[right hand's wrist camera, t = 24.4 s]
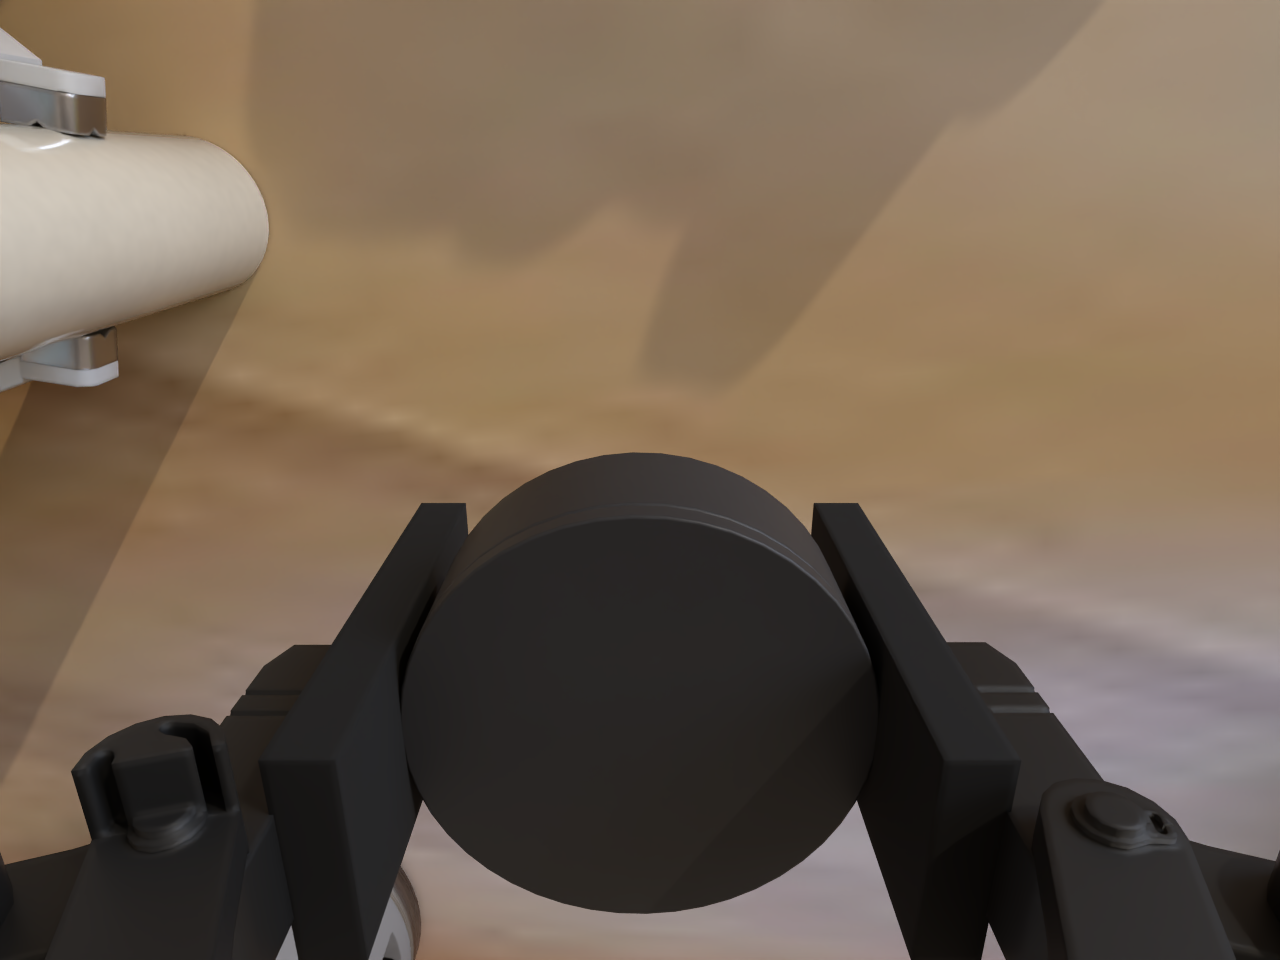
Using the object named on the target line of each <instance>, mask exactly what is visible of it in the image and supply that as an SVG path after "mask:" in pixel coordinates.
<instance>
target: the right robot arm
mask: <svg viewBox="0 0 1280 960" xmlns="http://www.w3.org/2000/svg"><path fill="white" fill-rule="evenodd" d="M467 536H468V526H467V513H466V503H421V505H420V506H419V508H418V510H417V511H416V513H415V514H414V516H413V517H412V519H411V521H410V522H409V524H408V525H407V527H406V528H405V530H404V532H403V533H402V535H401V536H400V538H399V539H398V541H397V543H396V544H395V546H394V547H393V549H392V550H391V552H390V554H389V555H388V557H387V558H386V560H385V561H384V563H383V565H382V566H381V568H380V569H379V571H378V572H377V574H376V576H375V577H374V579H373V580H372V582H371V583H370V585H369V587H368V588H367V590H366V591H365V593H364V594H363V596H362V598H361V599H360V601H359V602H358V604H357V605H356V607H355V609H354V610H353V612H352V613H351V615H350V616H349V618H348V620H347V621H346V623H345V624H344V626H343V628H342V629H341V631H340V632H339V634H338V635H337V637H336V639H335V640H334V642H333V643H332V645H294V646H292V647H291V648H289V649H288V650H286V651H285V652H283V653H282V654H281V655H279V656H278V657H276V658H275V659H273V660H272V661H270V662H269V663H268V664H266V665H265V666H264V667H263V668H262V669H261V671H260V672H259V673H258V675H257V676H256V677H255V679H254V680H253V681H252V683H251V684H250V685H249V687H248V688H247V690H246V695H242V696H241V698H240V699H239V700H238V702H237V703H236V704H235V706H234V707H233V708H232V710H231V715H230V716H226V718H225V719H224V720H223V722H222V723H221V725H220V726H219V725H218V724H217V723H216V722H215V721H213V720H212V719H210V718H205V717H200V716H196V715H191V714H190V715H174V716H163V717H159V718H155V719H152V720H148V721H144V722H140V723H137V724H134V725H132V726H130V727H128V728H125V729H123V730H121V731H119V732H117V733H115V734H112V735H110V736H108V737H107V738H105V739H104V740H103V741H101V742H100V743H98V744H97V745H96V746H94V747H93V748H91V749H90V750H89V751H87V752H86V753H85V754H84V755H83V757H82V758H81V759H80V760H79V762H78V763H77V764H76V766H75V767H74V768H73V769H72V771H71V773H72V776H73V779H74V783H75V786H76V789H77V793H78V796H79V799H80V802H81V806H82V809H83V812H84V816H85V819H86V822H87V825H88V829H89V832H90V835H91V839H92V841H91V844H89V845H85V846H82V847H79V848H75V849H72V850H68V851H63V852H59V853H54V854H50V855H46V856H41V857H37V858H33V859H28V860H24V861H20V862H15V863H11V864H6V865H5V864H4V862H3V859H2V856H1V853H0V960H415V957H416V954H417V950H418V946H419V941H420V935H421V918H420V910H419V906H418V901H417V898H416V895H415V892H414V890H413V887H412V885H411V883H410V881H409V879H408V877H407V876H406V874H405V872H404V871H403V869H402V868H401V866H400V865H401V862H402V859H403V857H404V854H405V851H406V848H407V845H408V842H409V839H410V836H411V833H412V830H413V827H414V824H415V821H416V818H417V815H418V812H419V809H420V806H421V803H422V800H423V799H422V797H421V796H420V794H419V792H418V790H417V788H416V785H415V783H414V781H413V778H412V776H411V773H410V771H409V768H408V765H407V760H406V753H405V746H404V739H403V730H402V722H401V713H400V697H401V687H402V683H403V678H404V674H405V670H406V666H407V662H408V659H409V657H410V654H411V652H412V650H413V647H414V645H415V642H416V640H417V637H418V635H419V633H420V631H421V629H422V627H423V625H424V623H425V620H426V618H427V616H428V614H429V612H430V609H431V607H432V605H433V603H434V601H435V599H436V597H437V594H438V592H439V590H440V588H441V586H442V584H443V582H444V579H445V577H446V575H447V573H448V571H449V569H450V567H451V564H452V562H453V560H454V558H455V556H456V554H457V553H458V551H459V550H460V548H461V546H462V545H463V543H464V541H465V540H466V538H467ZM811 536H812V538H813V539H814V540H815V542H816V543H817V545H818V546H819V548H820V550H821V552H822V554H823V556H824V558H825V560H826V562H827V564H828V566H829V568H830V570H831V572H832V574H833V576H834V578H835V581H836V583H837V585H838V587H839V589H840V591H841V593H842V596H843V598H844V600H845V602H846V604H847V606H848V608H849V611H850V613H851V615H852V617H853V619H854V621H855V623H856V626H857V628H858V630H859V632H860V634H861V636H862V638H863V641H864V643H865V645H866V647H867V649H868V652H869V656H870V659H871V662H872V665H873V668H874V671H875V674H876V680H877V686H878V693H879V699H880V706H879V716H878V726H877V734H876V742H875V750H874V757H873V763H872V766H871V769H870V772H869V775H868V778H867V780H866V782H865V784H864V786H863V788H862V790H861V792H860V794H859V796H858V798H857V802H858V805H859V808H860V811H861V814H862V817H863V820H864V823H865V826H866V828H867V831H868V834H869V837H870V840H871V843H872V846H873V849H874V852H875V855H876V858H877V861H878V864H879V867H880V870H881V873H882V876H883V879H884V882H885V885H886V887H887V890H888V893H889V896H890V899H891V902H892V905H893V908H894V911H895V914H896V917H897V920H898V923H899V926H900V929H901V932H902V935H903V938H904V941H905V944H906V946H907V949H908V952H909V955H910V958H911V960H981V958H982V953H983V948H984V943H985V938H986V933H987V928H988V923H989V924H990V926H991V928H992V931H993V933H994V935H995V937H996V939H997V941H998V944H999V946H1000V948H1001V950H1002V952H1003V955H1004V957H1005V959H1006V960H1280V851H1279V854H1278V857H1277V860H1276V861H1272V860H1267V859H1263V858H1258V857H1254V856H1250V855H1245V854H1241V853H1236V852H1232V851H1228V850H1223V849H1219V848H1214V847H1210V846H1206V845H1203V844H1199V843H1196V842H1193V841H1189V839H1188V838H1187V836H1186V835H1185V833H1184V832H1183V830H1182V829H1181V827H1180V826H1179V824H1178V823H1177V821H1176V820H1175V819H1174V818H1173V817H1172V816H1170V815H1169V814H1168V813H1167V812H1166V811H1164V810H1163V809H1162V808H1161V807H1160V806H1158V805H1157V804H1156V803H1155V802H1153V801H1151V800H1150V799H1148V798H1146V797H1144V796H1142V795H1140V794H1138V793H1136V792H1134V791H1132V790H1130V789H1128V788H1126V787H1122V786H1119V785H1116V784H1112V783H1109V782H1106V781H1104V780H1103V779H1102V778H1101V776H1100V775H1099V774H1098V772H1097V771H1096V770H1095V768H1094V767H1093V766H1092V764H1091V763H1090V762H1089V760H1088V759H1087V758H1086V756H1085V755H1084V754H1083V752H1082V751H1081V750H1080V748H1079V747H1078V746H1077V744H1076V743H1075V742H1074V740H1073V739H1072V738H1071V736H1070V735H1069V734H1068V732H1067V731H1066V730H1065V728H1064V727H1063V726H1062V724H1061V723H1060V722H1059V720H1058V719H1057V718H1056V716H1055V715H1054V713H1050V712H1049V707H1048V705H1047V704H1046V703H1045V701H1044V700H1043V699H1042V697H1041V696H1040V695H1039V693H1038V692H1034V687H1033V685H1032V684H1031V683H1030V681H1029V680H1028V679H1027V677H1026V676H1025V675H1024V673H1023V672H1022V671H1021V669H1020V668H1019V667H1018V665H1017V664H1016V663H1015V662H1013V661H1012V660H1010V659H1009V658H1008V657H1006V656H1005V655H1003V654H1002V653H1000V652H999V651H997V650H996V649H994V648H993V647H992V646H990V645H989V644H987V643H986V642H946V641H945V639H944V638H943V636H942V635H941V633H940V631H939V630H938V628H937V627H936V625H935V624H934V622H933V620H932V619H931V617H930V616H929V614H928V613H927V611H926V609H925V608H924V606H923V605H922V603H921V602H920V600H919V598H918V597H917V595H916V594H915V592H914V591H913V589H912V587H911V586H910V584H909V583H908V581H907V580H906V578H905V576H904V575H903V573H902V572H901V570H900V569H899V567H898V565H897V564H896V562H895V561H894V559H893V558H892V556H891V554H890V553H889V551H888V550H887V548H886V547H885V545H884V543H883V542H882V540H881V539H880V537H879V536H878V534H877V532H876V531H875V529H874V528H873V526H872V525H871V523H870V521H869V520H868V518H867V517H866V515H865V514H864V512H863V510H862V509H861V507H860V506H859V504H858V503H814V507H813V520H812V532H811Z"/></svg>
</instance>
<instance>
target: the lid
mask: <svg viewBox="0 0 1280 960" xmlns="http://www.w3.org/2000/svg"><path fill="white" fill-rule="evenodd" d="M879 706H880V699H879V693H878V686H877V680H876V674H875V671H874V668H873V665H872V662H871V659H870V656H869V652H868V649H867V647H866V645H865V643H864V641H863V638H862V636H861V634H860V632H859V630H858V628H857V626H856V623H855V621H854V619H853V617H852V615H851V613H850V611H849V608H848V606H847V604H846V602H845V600H844V598H843V596H842V593H841V591H840V589H839V587H838V585H837V583H836V581H835V578H834V576H833V574H832V572H831V570H830V568H829V566H828V564H827V562H826V560H825V558H824V556H823V554H822V552H821V550H820V548H819V546H818V545H817V543H816V542H815V540H814V539H813V538H812V536H811V535H810V533H809V532H808V531H807V529H806V528H805V526H804V525H803V524H802V523H801V522H800V521H799V520H798V519H797V518H796V517H795V516H794V515H793V514H792V513H791V511H790V510H789V509H788V508H787V507H786V506H784V505H783V504H782V503H781V502H779V501H778V500H777V499H776V498H774V497H773V496H772V495H771V494H769V493H768V492H767V491H765V490H764V489H762V488H760V487H759V486H757V485H755V484H754V483H752V482H750V481H749V480H747V479H745V478H744V477H742V476H740V475H737V474H735V473H733V472H730V471H728V470H726V469H723V468H721V467H719V466H716V465H713V464H709V463H706V462H702V461H699V460H695V459H692V458H687V457H681V456H675V455H668V454H662V453H622V454H611V455H603V456H598V457H594V458H589V459H585V460H580V461H576V462H573V463H570V464H567V465H565V466H562V467H559V468H556V469H553V470H551V471H548V472H546V473H544V474H542V475H541V476H539V477H537V478H535V479H533V480H531V481H529V482H527V483H525V484H524V485H522V486H521V487H519V488H518V489H516V490H515V491H513V492H512V493H511V494H509V495H508V496H506V497H505V498H503V499H502V500H501V501H500V502H499V503H498V504H497V505H496V506H495V507H493V508H492V509H491V510H490V511H489V512H488V513H487V514H486V515H485V516H484V517H483V518H482V519H481V520H480V522H479V523H478V524H477V525H476V526H475V528H474V529H473V530H472V531H471V533H470V534H469V535H468V536H467V538H466V540H465V541H464V543H463V545H462V546H461V548H460V550H459V551H458V553H457V554H456V556H455V558H454V560H453V562H452V564H451V567H450V569H449V571H448V573H447V575H446V577H445V579H444V582H443V584H442V586H441V588H440V590H439V592H438V594H437V597H436V599H435V601H434V603H433V605H432V607H431V609H430V612H429V614H428V616H427V618H426V620H425V623H424V625H423V627H422V629H421V631H420V633H419V635H418V637H417V640H416V642H415V645H414V647H413V650H412V652H411V654H410V657H409V659H408V662H407V666H406V670H405V674H404V678H403V683H402V687H401V697H400V713H401V722H402V730H403V739H404V746H405V753H406V760H407V765H408V768H409V771H410V773H411V776H412V778H413V781H414V783H415V785H416V788H417V790H418V792H419V794H420V796H421V797H422V799H423V801H424V802H425V804H426V806H427V807H428V809H429V811H430V812H431V814H432V815H433V816H434V818H435V819H436V820H437V822H438V823H439V824H440V825H441V827H442V828H443V829H444V830H445V832H446V833H447V834H448V835H449V836H450V837H451V838H452V839H453V840H454V841H455V842H456V843H457V844H458V845H459V846H460V847H461V848H462V849H463V850H464V851H465V852H466V853H468V854H469V855H470V856H471V857H473V858H474V859H475V860H477V861H478V862H479V863H481V864H482V865H483V866H485V867H486V868H487V869H489V870H490V871H492V872H494V873H495V874H497V875H499V876H500V877H502V878H504V879H505V880H507V881H509V882H511V883H512V884H515V885H517V886H519V887H521V888H523V889H526V890H528V891H530V892H532V893H534V894H537V895H540V896H543V897H545V898H548V899H551V900H554V901H557V902H560V903H564V904H568V905H572V906H577V907H581V908H586V909H590V910H598V911H606V912H614V913H639V914H649V913H663V912H676V911H681V910H687V909H693V908H699V907H704V906H707V905H711V904H715V903H718V902H722V901H725V900H729V899H732V898H734V897H737V896H739V895H742V894H744V893H747V892H750V891H752V890H755V889H757V888H759V887H761V886H763V885H764V884H766V883H768V882H770V881H772V880H774V879H776V878H778V877H780V876H781V875H783V874H784V873H786V872H787V871H789V870H790V869H792V868H793V867H795V866H796V865H798V864H799V863H801V862H802V861H803V860H804V859H806V858H807V857H808V856H809V855H810V854H811V853H813V852H814V851H815V850H816V849H817V848H818V847H819V846H821V845H822V844H823V843H824V842H825V841H826V840H827V838H828V837H829V836H830V835H831V834H832V833H833V832H834V831H835V830H836V829H837V827H838V826H839V825H840V824H841V823H842V821H843V820H844V818H845V817H846V815H847V814H848V812H849V811H850V810H851V808H852V807H853V805H854V804H855V802H856V800H857V798H858V796H859V794H860V792H861V790H862V788H863V786H864V784H865V782H866V780H867V778H868V775H869V772H870V769H871V766H872V763H873V757H874V750H875V742H876V734H877V726H878V716H879Z"/></svg>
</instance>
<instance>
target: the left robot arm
mask: <svg viewBox="0 0 1280 960" xmlns="http://www.w3.org/2000/svg"><path fill="white" fill-rule="evenodd" d="M105 97H106V91H105V78H103V77H100V76H95V75H90V74H84V73H79V72H74V71H68V70H63V69H58V68H52V67H47V66H42V60H41V59H39V58H38V57H37V56H36V55H34V54H33V53H32V52H30V51H29V50H28V49H27V48H25V47H24V46H23V45H22V44H20V43H19V42H18V41H17V40H15V39H14V38H13V37H12V36H10V35H9V34H8V33H7V32H5V31H4V30H3V29H2V28H0V119H1V122H7V123H12V124H17V125H28V126H42V127H44V128H45V129H49V130H53V131H56V132H62V133H68V134H77V135H87V136H89V135H96V136H107V119H106V98H105ZM6 360H7V361H6ZM6 360H3V361H0V393H1V392H4V391H6V390H9V389H12V388H15V387H17V386H20V385H22V384H25V383H27V382H30V381H32V380H36V381H42V382H48V383H55V384H61V385H67V386H74V387H92V386H98V385H100V384H103V383H105V382H107V381H110V380H112V379H115V378H117V377H119V373H118V352H117V331H116V327H115V326H112V327H109V328H106V329H103V330H99V331H96V332H93V333H90V334H87V335H83V336H80V337H77V338H74V339H70V340H67V341H64V342H61V343H58V344H54V345H51V346H48V347H45V348H41V349H38V350H35V351H32V352H29V353H25V354H22V355H20V356H17V357H15V358H12V359H10V360H8V359H6Z"/></svg>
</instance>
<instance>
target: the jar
mask: <svg viewBox="0 0 1280 960" xmlns="http://www.w3.org/2000/svg"><path fill="white" fill-rule="evenodd" d="M268 235H269V223H268V216H267V210H266V207H265V203H264V200H263V198H262V195H261V193H260V191H259V189H258V187H257V185H256V183H255V182H254V180H253V179H252V177H251V176H250V174H249V173H248V172H247V170H246V169H245V168H244V167H243V166H242V165H241V164H240V163H239V162H238V161H237V160H236V159H235V158H234V157H233V156H231V155H230V154H229V153H227V152H226V151H224V150H223V149H222V148H220V147H218V146H216V145H214V144H212V143H210V142H208V141H205V140H203V139H199V138H195V137H191V136H184V135H171V134H156V133H140V132H125V131H109V130H107V136H96V135H89V136H87V135H77V134H68V133H62V132H56V131H53V130H49V129H45V128H44V127H42V126H28V125H16V124H1V123H0V361H3V360H6V359H9V358H12V357H16V356H19V355H22V354H25V353H29V352H32V351H35V350H38V349H41V348H45V347H48V346H51V345H54V344H58V343H61V342H64V341H67V340H70V339H74V338H77V337H80V336H83V335H87V334H90V333H93V332H96V331H99V330H103V329H106V328H109V327H112V326H116V325H119V324H122V323H125V322H128V321H132V320H135V319H138V318H141V317H145V316H148V315H151V314H154V313H157V312H161V311H164V310H167V309H170V308H174V307H177V306H180V305H183V304H186V303H190V302H193V301H196V300H199V299H203V298H206V297H209V296H212V295H215V294H219V293H222V292H225V291H228V290H231V289H233V288H235V287H237V286H239V285H240V284H242V283H243V282H245V281H246V280H247V279H248V278H249V277H250V276H252V274H253V273H254V272H255V271H256V269H257V268H258V267H259V265H260V263H261V261H262V259H263V257H264V254H265V252H266V248H267V243H268Z"/></svg>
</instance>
